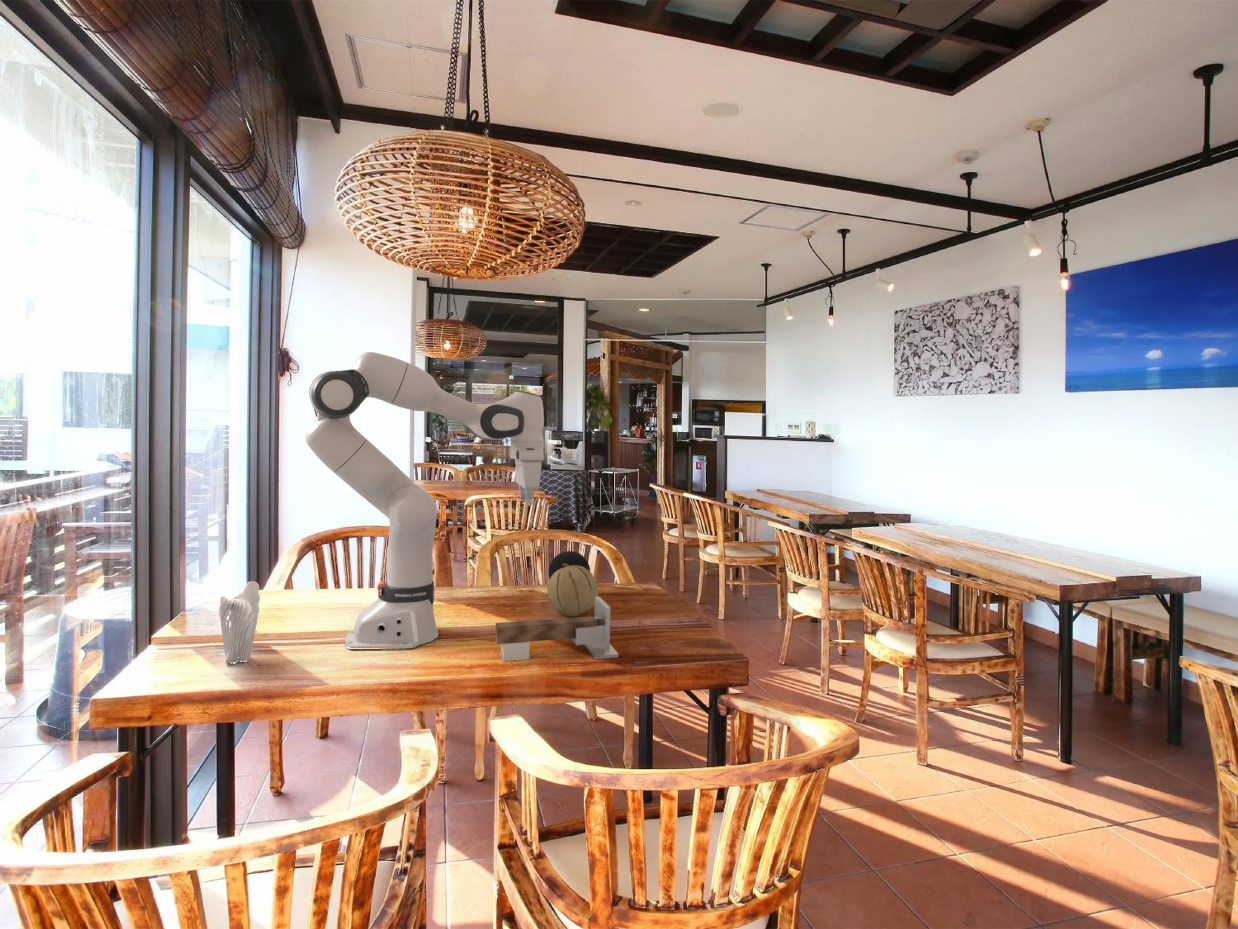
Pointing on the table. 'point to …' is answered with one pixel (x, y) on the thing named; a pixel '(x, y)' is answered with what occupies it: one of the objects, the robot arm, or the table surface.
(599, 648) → the bracket
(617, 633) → the table surface
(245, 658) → the shell sculpture
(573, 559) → the black rounded lump
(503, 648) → the pale grey block
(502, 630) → the walnut rail
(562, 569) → the cantaloupe
